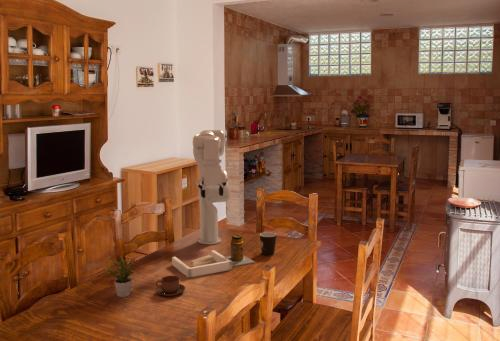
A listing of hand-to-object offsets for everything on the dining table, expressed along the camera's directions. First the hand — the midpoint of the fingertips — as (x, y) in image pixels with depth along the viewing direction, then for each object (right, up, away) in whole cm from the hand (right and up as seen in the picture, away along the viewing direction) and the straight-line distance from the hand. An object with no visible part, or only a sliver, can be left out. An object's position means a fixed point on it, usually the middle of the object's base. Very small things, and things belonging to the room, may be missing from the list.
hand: (212, 196), depth 271 cm
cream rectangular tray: (-4, -33, -14) cm, 36 cm away
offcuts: (-3, -34, -17) cm, 38 cm away
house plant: (-33, -38, -46) cm, 68 cm away
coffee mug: (+28, -30, +8) cm, 42 cm away
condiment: (+12, -31, -6) cm, 34 cm away
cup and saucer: (-14, -38, -45) cm, 61 cm away
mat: (+13, -31, -5) cm, 34 cm away
